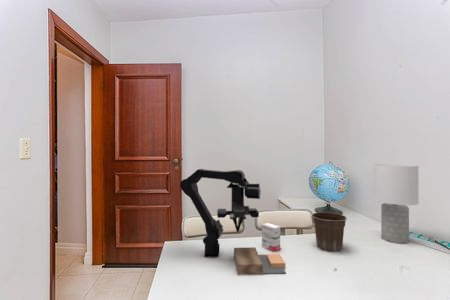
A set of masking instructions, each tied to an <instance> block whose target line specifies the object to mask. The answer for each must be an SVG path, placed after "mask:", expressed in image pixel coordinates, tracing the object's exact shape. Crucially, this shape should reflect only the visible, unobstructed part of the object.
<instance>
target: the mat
mask: <svg viewBox="0 0 450 300" xmlns="http://www.w3.org/2000/svg"><path fill="white" fill-rule="evenodd" d="M258 255H259V257H260V259H261V262H262V264H263V274H262V275H287V271H286V270H285V268H271V267H270V265H269V263H268V261H267V259H266V254H258Z"/></svg>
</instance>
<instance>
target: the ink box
mask: <svg viewBox="0 0 450 300" xmlns="http://www.w3.org/2000/svg"><path fill="white" fill-rule="evenodd" d="M261 247H262V248H263V249H267V250H269V251H271V252H273V253H277V252H278V251H280V250H281V226H279V225H276V224H272V223H269V222H266V223H262V224H261Z"/></svg>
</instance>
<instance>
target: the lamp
mask: <svg viewBox="0 0 450 300" xmlns="http://www.w3.org/2000/svg"><path fill="white" fill-rule="evenodd" d="M372 186H373V187H372V199H373V201H375V202H378V203H381V204H380V205H381V207H380V208H381V209H380V211H381V216H380V217H381V218H380V221H381V224H380V225H381V226H380V227H381V231H380V232H381V235H380V236H381V239H382V240H385V241H386V242H389V243H393V244H399V245H400V244H401V245H403V244H404V245H405V244H406V245H407V244H408V243H410V207H409V206H417V205H419V165H413V164H398V163H397V164H394V163H393V164H392V163H391V164H389V163H388V164H386V163H381V164H379V163H378V164H377V163H375V164H373V165H372Z"/></svg>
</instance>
